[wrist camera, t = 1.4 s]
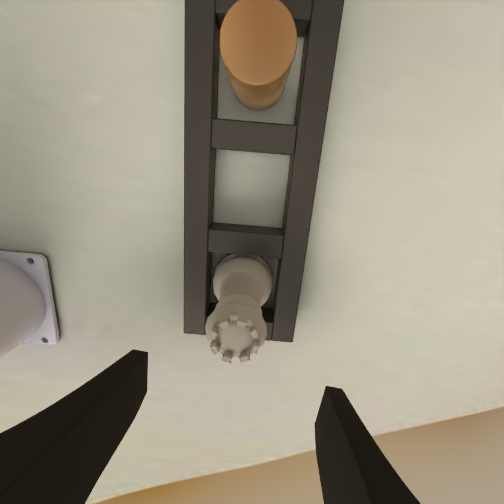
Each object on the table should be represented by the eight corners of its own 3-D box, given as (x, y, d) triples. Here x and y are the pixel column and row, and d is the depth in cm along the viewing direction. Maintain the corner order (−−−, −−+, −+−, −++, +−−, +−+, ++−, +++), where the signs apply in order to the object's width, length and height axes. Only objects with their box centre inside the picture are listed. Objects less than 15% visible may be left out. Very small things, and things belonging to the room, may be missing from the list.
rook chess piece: (232, 238, 20) (216, 285, 12) (283, 268, 21) (297, 329, 13) (204, 286, 21) (174, 354, 14) (253, 312, 22) (250, 392, 14)
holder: (190, 318, 22) (183, 333, 20) (193, -6, 16) (184, -30, 14) (289, 327, 22) (292, 342, 20) (336, 6, 16) (347, -16, 14)
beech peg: (231, 108, 17) (217, 82, 12) (234, 49, 16) (220, -12, 11) (281, 112, 17) (291, 88, 12) (287, 53, 16) (302, -4, 11)
